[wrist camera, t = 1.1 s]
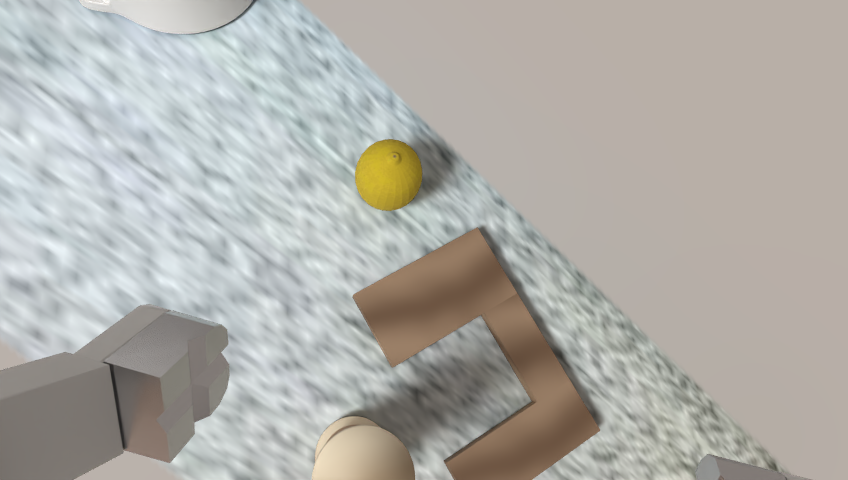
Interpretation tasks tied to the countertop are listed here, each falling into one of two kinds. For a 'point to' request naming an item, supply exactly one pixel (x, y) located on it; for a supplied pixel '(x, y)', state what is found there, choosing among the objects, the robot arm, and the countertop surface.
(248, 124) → the countertop surface
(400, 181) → the lemon
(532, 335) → the notched board
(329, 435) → the bobbin
